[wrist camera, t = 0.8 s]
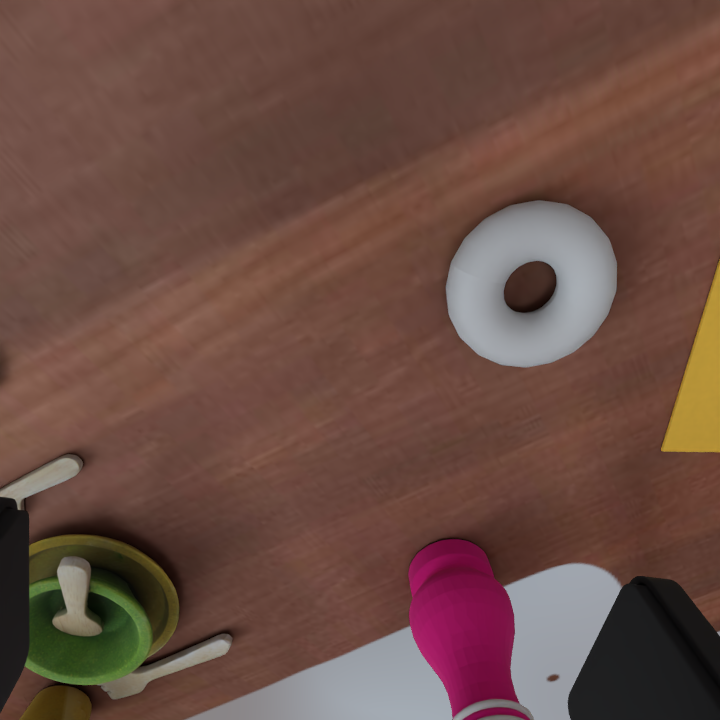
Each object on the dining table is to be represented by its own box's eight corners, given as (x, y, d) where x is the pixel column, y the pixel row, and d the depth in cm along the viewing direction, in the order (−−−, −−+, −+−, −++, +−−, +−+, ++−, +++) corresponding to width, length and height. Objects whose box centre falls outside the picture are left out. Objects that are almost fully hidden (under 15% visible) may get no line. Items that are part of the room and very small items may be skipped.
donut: (588, 350, 37) (615, 193, 33) (612, 374, 34) (645, 204, 30) (436, 355, 37) (444, 197, 33) (447, 380, 34) (457, 208, 30)
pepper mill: (501, 592, 45) (619, 921, 27) (412, 612, 46) (470, 951, 27) (487, 523, 42) (610, 840, 24) (392, 545, 43) (443, 874, 24)
